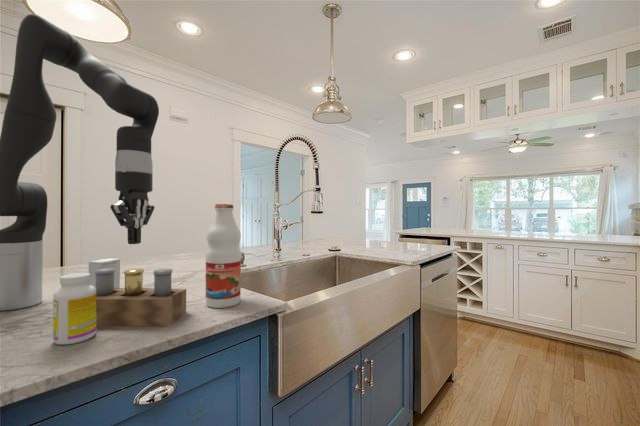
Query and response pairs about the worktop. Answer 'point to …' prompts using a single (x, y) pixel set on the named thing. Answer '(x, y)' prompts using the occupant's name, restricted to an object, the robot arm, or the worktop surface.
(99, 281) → the plug
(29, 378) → the worktop surface
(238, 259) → the fruit juice
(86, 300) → the supplement bottle
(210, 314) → the worktop surface
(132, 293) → the plug mid
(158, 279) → the plug
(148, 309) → the socket block
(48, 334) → the worktop surface
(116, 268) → the skincare box
